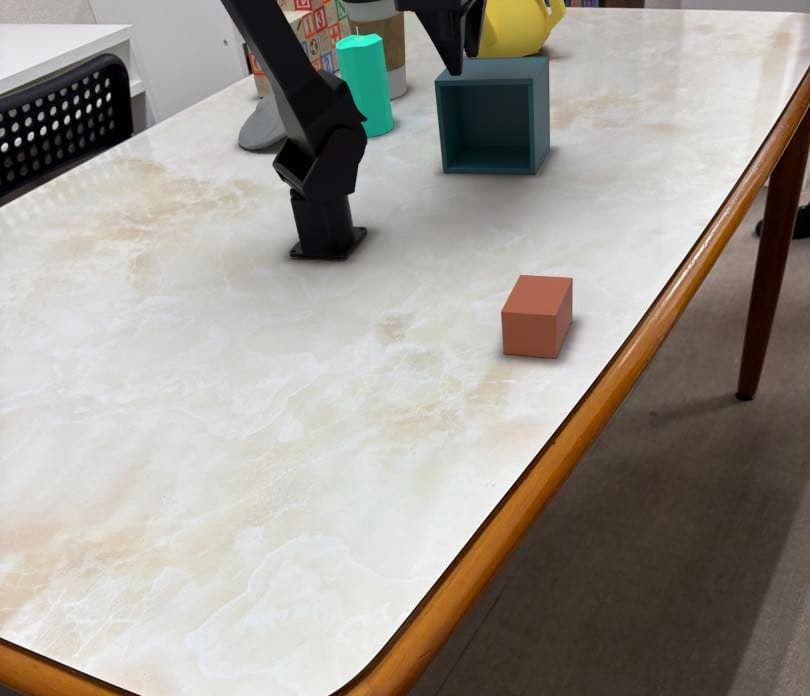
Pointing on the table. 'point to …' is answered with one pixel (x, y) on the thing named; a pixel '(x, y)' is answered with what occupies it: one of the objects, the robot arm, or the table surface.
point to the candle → (367, 80)
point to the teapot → (517, 27)
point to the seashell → (262, 125)
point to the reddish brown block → (537, 316)
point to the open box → (494, 115)
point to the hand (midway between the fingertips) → (464, 66)
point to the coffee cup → (382, 36)
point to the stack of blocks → (311, 35)
